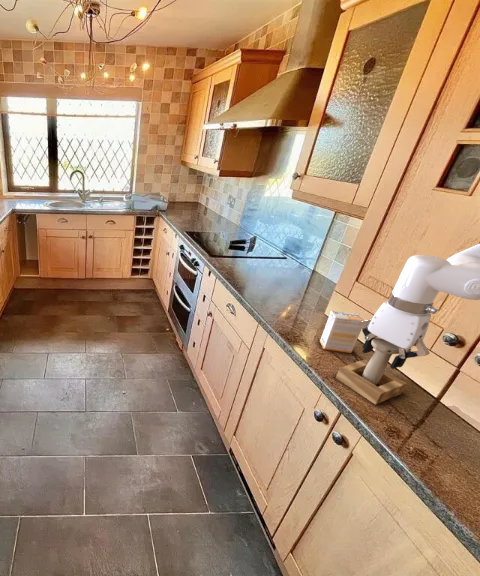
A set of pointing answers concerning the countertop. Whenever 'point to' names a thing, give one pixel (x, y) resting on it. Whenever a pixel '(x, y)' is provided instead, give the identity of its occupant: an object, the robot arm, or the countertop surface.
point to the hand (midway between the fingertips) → (380, 358)
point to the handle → (379, 360)
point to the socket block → (353, 379)
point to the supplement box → (341, 331)
